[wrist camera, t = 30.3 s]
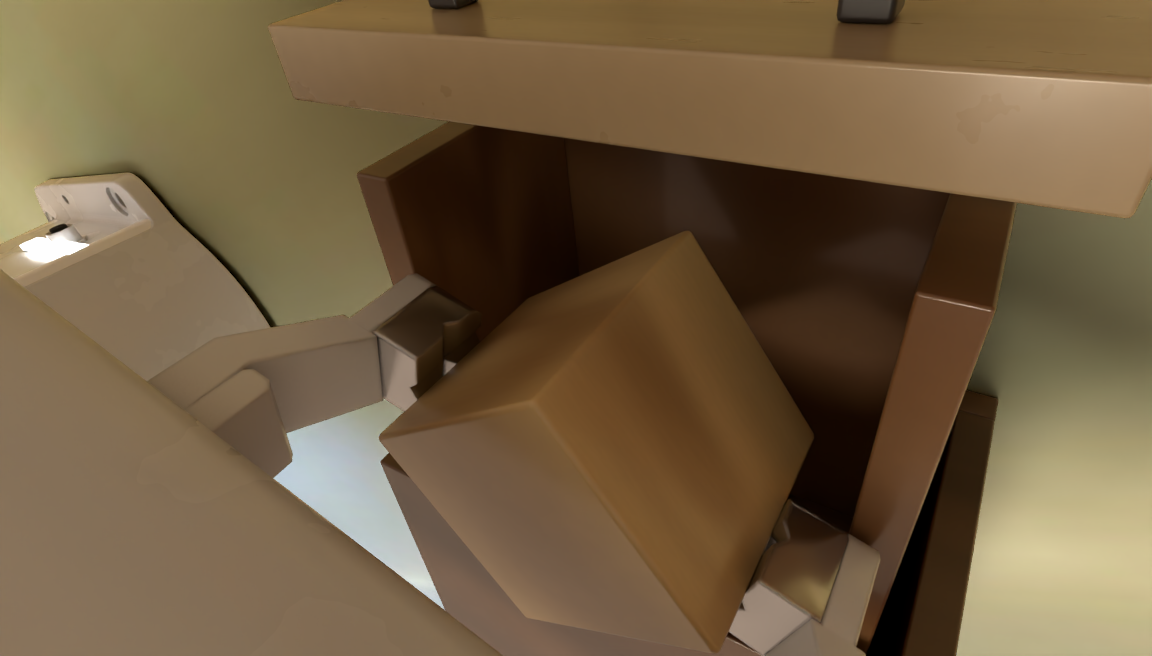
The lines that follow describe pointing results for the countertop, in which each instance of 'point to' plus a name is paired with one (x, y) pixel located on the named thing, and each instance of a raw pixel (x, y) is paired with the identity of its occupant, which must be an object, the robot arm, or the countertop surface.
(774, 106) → the drawer
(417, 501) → the cabinet
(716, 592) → the block
